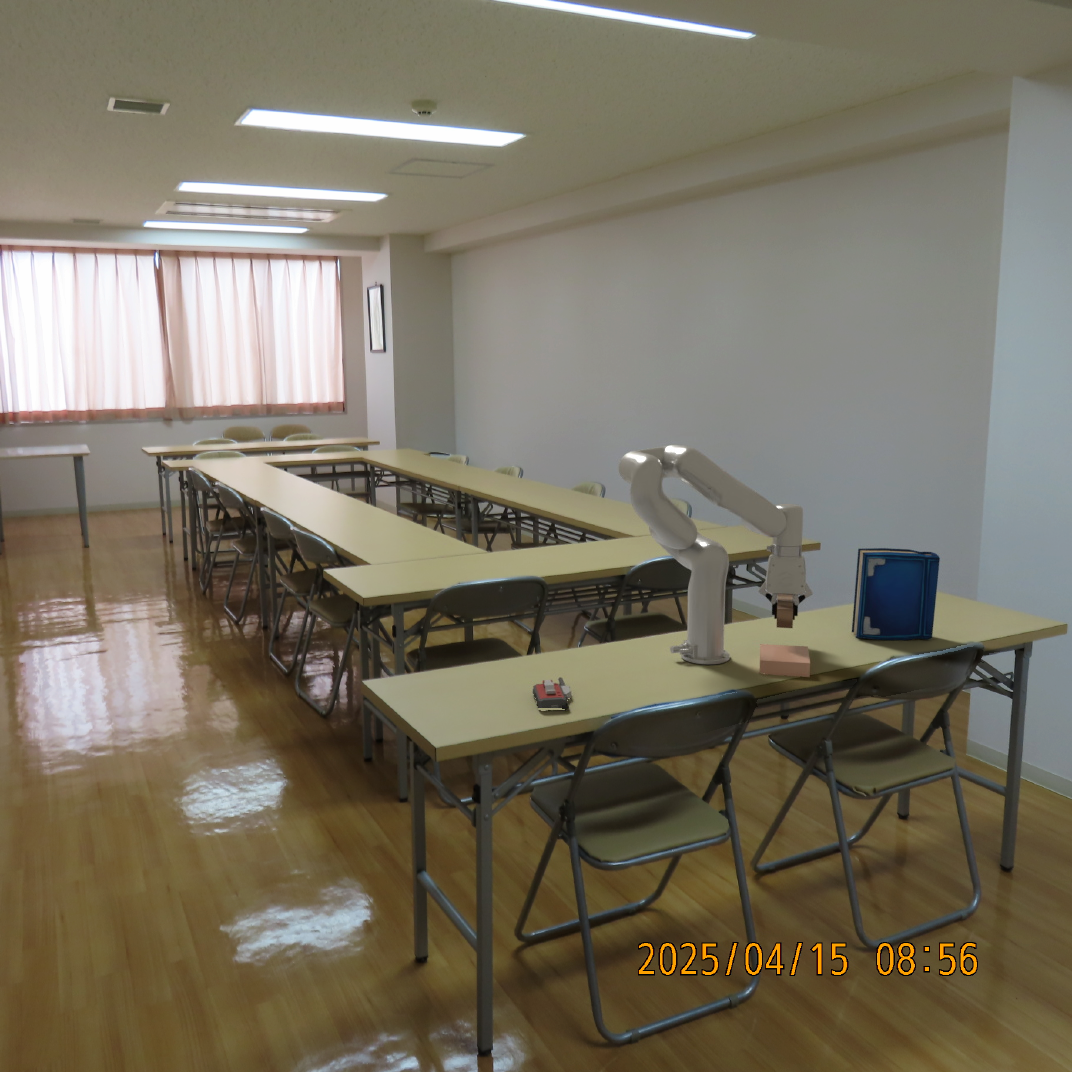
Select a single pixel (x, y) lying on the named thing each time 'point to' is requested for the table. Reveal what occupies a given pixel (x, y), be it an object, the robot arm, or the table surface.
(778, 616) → the block
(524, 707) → the table surface
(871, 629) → the book
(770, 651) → the tile
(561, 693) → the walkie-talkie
